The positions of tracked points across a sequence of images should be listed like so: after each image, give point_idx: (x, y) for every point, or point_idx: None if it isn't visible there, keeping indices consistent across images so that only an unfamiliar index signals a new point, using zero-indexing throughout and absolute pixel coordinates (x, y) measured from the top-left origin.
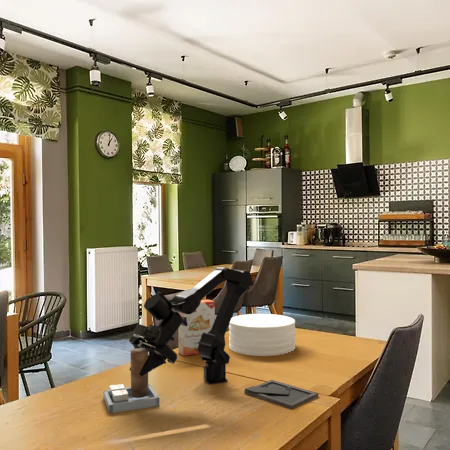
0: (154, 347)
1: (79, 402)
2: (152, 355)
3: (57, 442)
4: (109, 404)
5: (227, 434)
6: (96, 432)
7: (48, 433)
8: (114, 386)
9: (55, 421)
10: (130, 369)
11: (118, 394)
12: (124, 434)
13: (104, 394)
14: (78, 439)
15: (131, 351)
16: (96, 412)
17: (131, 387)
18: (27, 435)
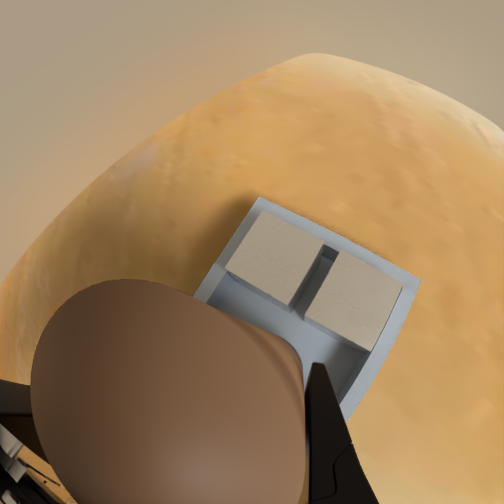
0: (10, 494)
1: (446, 226)
2: (7, 382)
3: (245, 86)
4: (263, 200)
5: (9, 312)
6: (209, 143)
7: (300, 89)
8: (373, 293)
9: (354, 118)
10: (312, 365)
11: (259, 233)
12: (143, 180)
13: (394, 267)
14: (219, 110)
15: (191, 313)
16: (329, 208)
17: (272, 333)
18: (324, 72)
